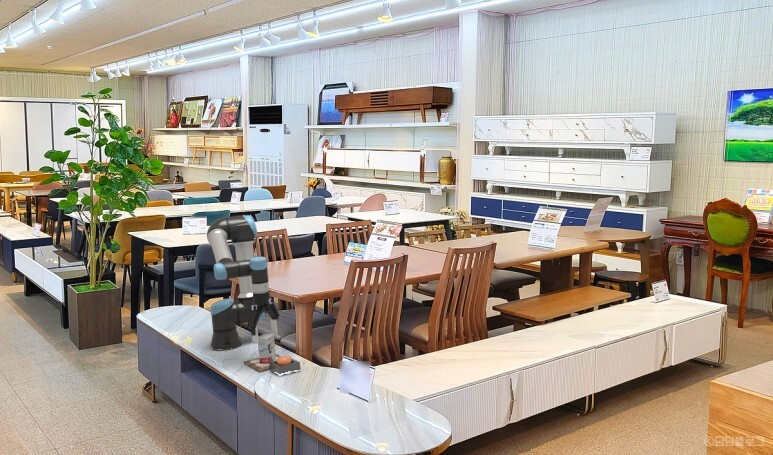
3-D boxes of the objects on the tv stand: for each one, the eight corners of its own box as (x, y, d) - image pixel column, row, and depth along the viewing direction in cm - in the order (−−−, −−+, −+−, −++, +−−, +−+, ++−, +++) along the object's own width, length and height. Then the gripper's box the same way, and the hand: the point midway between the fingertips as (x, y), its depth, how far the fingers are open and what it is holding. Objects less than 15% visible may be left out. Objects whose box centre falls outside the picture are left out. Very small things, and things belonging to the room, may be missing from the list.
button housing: (269, 371, 298) (269, 362, 298) (290, 366, 304) (289, 357, 303) (279, 376, 290) (278, 367, 290) (300, 371, 296) (299, 362, 295)
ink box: (269, 364, 305) (266, 338, 304) (259, 364, 306) (256, 338, 305) (276, 358, 313) (274, 333, 312) (266, 358, 315) (264, 333, 313)
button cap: (275, 366, 298) (274, 357, 297) (288, 363, 301) (287, 354, 300) (281, 369, 293) (280, 360, 292) (294, 366, 296) (293, 357, 295)
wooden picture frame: (243, 363, 313) (243, 361, 313) (275, 355, 322) (275, 353, 321) (259, 372, 298) (259, 369, 298) (292, 364, 307) (292, 361, 306)
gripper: (249, 298, 293) (254, 346, 296) (284, 285, 315) (288, 330, 318) (236, 297, 297) (240, 345, 300) (271, 285, 319) (275, 329, 321)
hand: (265, 337), depth 309 cm, fingers open, 13 cm apart
